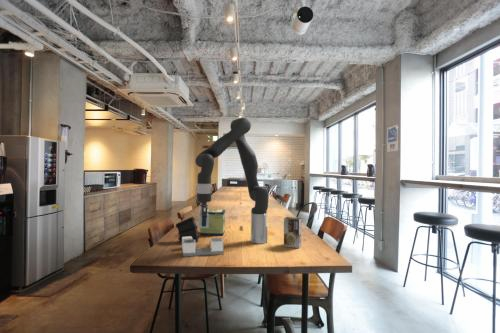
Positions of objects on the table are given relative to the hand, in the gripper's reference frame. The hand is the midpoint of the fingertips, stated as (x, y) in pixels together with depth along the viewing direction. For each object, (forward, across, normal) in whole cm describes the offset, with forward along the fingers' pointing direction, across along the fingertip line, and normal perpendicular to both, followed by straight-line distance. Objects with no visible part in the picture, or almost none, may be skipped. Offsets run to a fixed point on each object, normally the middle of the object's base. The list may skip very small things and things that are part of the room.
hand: (203, 225), depth 135 cm
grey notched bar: (+15, 0, 0) cm, 15 cm away
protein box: (+15, +40, -9) cm, 44 cm away
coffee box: (+15, +3, -51) cm, 53 cm away
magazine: (+15, +23, +8) cm, 28 cm away
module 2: (+1, 0, 0) cm, 1 cm away
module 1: (+15, +10, +8) cm, 19 cm away
